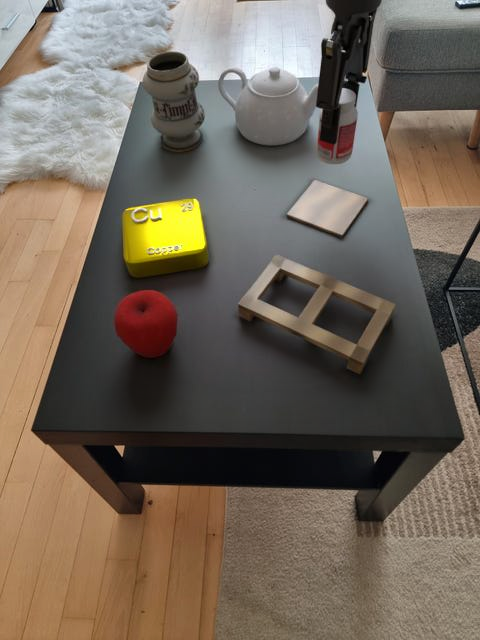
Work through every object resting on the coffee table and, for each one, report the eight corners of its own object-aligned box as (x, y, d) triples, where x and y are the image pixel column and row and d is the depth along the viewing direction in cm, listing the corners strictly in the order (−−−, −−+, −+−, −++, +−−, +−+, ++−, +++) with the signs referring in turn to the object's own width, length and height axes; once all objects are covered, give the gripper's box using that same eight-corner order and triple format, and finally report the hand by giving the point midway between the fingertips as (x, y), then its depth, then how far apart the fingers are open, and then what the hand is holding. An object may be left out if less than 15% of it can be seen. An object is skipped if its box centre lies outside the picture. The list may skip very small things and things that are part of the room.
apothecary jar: (152, 129, 115) (135, 51, 100) (202, 120, 116) (192, 41, 101) (159, 159, 108) (141, 80, 93) (211, 149, 109) (202, 69, 94)
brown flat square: (368, 200, 96) (368, 198, 96) (342, 237, 91) (342, 235, 90) (314, 181, 100) (314, 179, 100) (286, 216, 95) (286, 214, 94)
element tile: (129, 280, 87) (122, 262, 83) (127, 224, 96) (120, 205, 92) (210, 267, 88) (208, 249, 84) (201, 212, 97) (198, 194, 93)
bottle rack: (391, 317, 79) (396, 304, 77) (359, 374, 73) (363, 363, 71) (276, 267, 87) (276, 254, 84) (239, 316, 81) (237, 303, 78)
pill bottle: (352, 145, 86) (361, 86, 77) (350, 167, 83) (360, 107, 74) (317, 143, 87) (323, 84, 78) (314, 164, 84) (319, 105, 75)
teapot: (289, 97, 119) (291, 39, 108) (325, 136, 109) (331, 76, 98) (220, 117, 116) (214, 60, 105) (251, 159, 106) (248, 100, 95)
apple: (191, 358, 77) (181, 318, 68) (133, 378, 75) (115, 340, 66) (174, 312, 82) (163, 270, 74) (120, 330, 81) (101, 289, 72)
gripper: (360, -58, 68) (341, 97, 87) (296, -6, 59) (290, 154, 78) (411, -50, 66) (380, 108, 84) (352, 5, 57) (332, 168, 75)
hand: (337, 130), depth 81 cm, fingers closed on pill bottle, 6 cm apart
